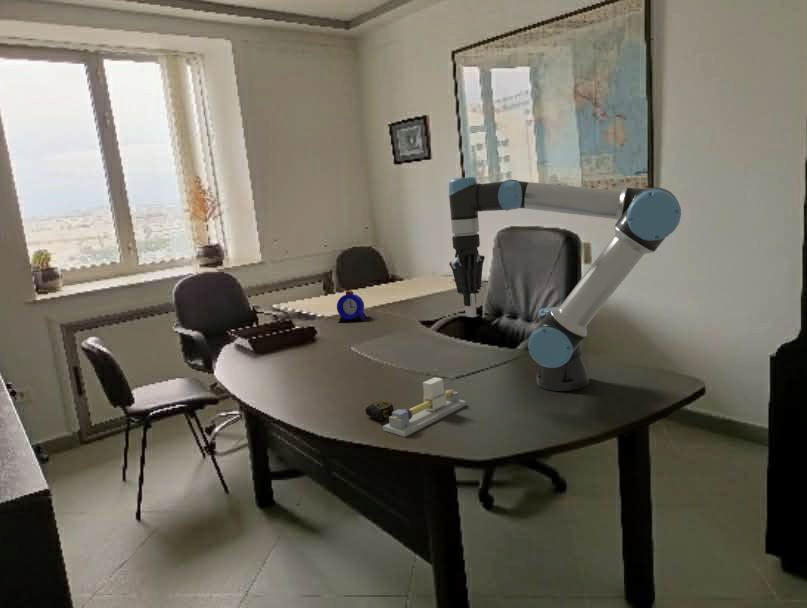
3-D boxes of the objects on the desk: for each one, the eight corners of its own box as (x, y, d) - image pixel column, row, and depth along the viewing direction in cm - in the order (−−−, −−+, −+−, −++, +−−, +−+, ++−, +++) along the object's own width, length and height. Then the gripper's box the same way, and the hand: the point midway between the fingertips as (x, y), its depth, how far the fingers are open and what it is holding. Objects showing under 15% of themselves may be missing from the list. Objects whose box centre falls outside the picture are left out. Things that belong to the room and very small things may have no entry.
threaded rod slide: (445, 400, 179) (443, 383, 178) (466, 405, 173) (464, 388, 172) (383, 430, 162) (381, 412, 161) (404, 436, 156) (402, 418, 155)
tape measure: (365, 417, 172) (363, 405, 172) (385, 410, 176) (384, 398, 175) (378, 424, 167) (376, 411, 166) (398, 417, 170) (397, 404, 170)
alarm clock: (337, 323, 296) (333, 293, 293) (344, 317, 307) (340, 288, 305) (362, 321, 293) (358, 291, 290) (367, 316, 305) (364, 286, 302)
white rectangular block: (436, 403, 173) (433, 377, 172) (446, 405, 170) (444, 379, 169) (424, 409, 170) (421, 382, 168) (434, 411, 167) (431, 384, 165)
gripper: (470, 231, 177) (475, 310, 182) (439, 236, 168) (446, 319, 173) (490, 231, 172) (495, 312, 177) (460, 237, 163) (466, 322, 168)
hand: (471, 316), depth 175 cm, fingers closed
